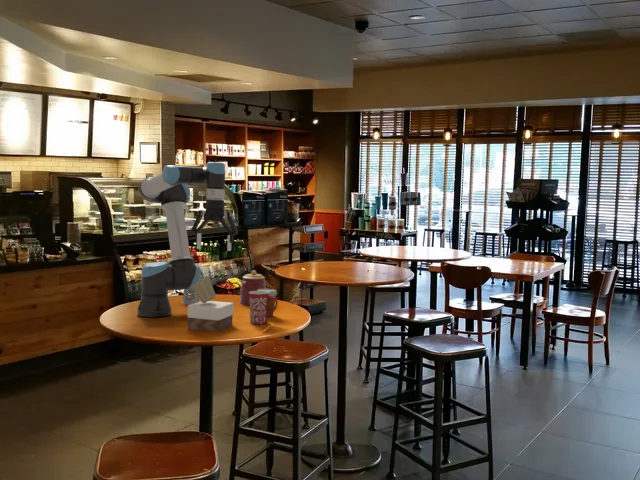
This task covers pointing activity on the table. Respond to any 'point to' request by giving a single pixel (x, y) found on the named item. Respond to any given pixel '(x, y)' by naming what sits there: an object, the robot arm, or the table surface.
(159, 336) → the table surface
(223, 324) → the tower base
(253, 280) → the canister
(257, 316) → the mug
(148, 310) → the robot arm
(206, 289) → the flower pot
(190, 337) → the table surface
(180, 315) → the table surface
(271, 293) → the disposable coffee cup
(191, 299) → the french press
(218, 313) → the tower top
